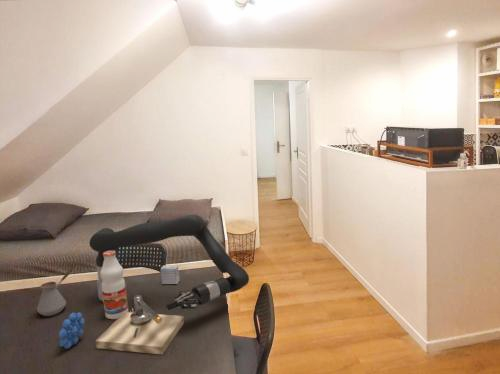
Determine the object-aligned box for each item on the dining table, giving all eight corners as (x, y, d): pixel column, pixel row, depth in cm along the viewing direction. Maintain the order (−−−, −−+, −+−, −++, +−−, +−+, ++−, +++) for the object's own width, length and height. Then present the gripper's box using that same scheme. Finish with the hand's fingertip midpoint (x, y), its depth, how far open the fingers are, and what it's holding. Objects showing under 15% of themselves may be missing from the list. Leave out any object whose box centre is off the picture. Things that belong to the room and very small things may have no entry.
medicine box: (179, 281, 184) (178, 265, 182) (177, 285, 180) (175, 268, 178) (164, 281, 185) (163, 265, 183) (161, 285, 180) (160, 268, 179)
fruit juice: (128, 306, 161) (121, 246, 155) (128, 317, 152) (120, 254, 146) (106, 310, 158) (98, 250, 153) (104, 321, 149) (95, 257, 144)
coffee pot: (52, 320, 152) (46, 287, 149) (31, 316, 156) (25, 284, 153) (88, 296, 172) (84, 266, 169) (69, 293, 176) (65, 265, 173)
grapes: (77, 333, 141) (72, 305, 139) (90, 336, 139) (86, 307, 137) (52, 352, 130) (47, 321, 128) (66, 355, 128) (62, 324, 126)
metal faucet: (127, 319, 144) (125, 297, 142) (147, 311, 149) (144, 291, 147) (151, 345, 126) (148, 321, 124) (172, 336, 131) (169, 313, 129)
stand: (96, 348, 131) (95, 340, 131) (125, 318, 151) (125, 311, 150) (162, 354, 126) (161, 346, 125) (184, 322, 145) (183, 315, 145)
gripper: (197, 278, 152) (158, 292, 141) (214, 289, 141) (174, 304, 131) (198, 295, 153) (160, 309, 143) (215, 306, 143) (175, 323, 132)
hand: (167, 307), depth 137 cm, fingers closed
